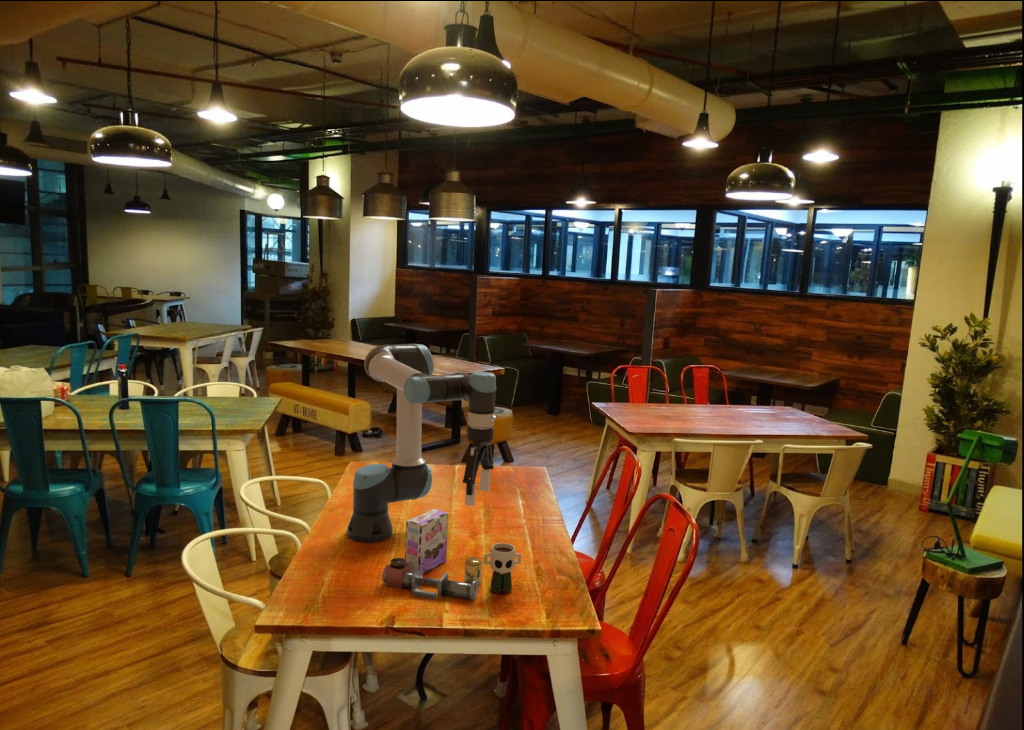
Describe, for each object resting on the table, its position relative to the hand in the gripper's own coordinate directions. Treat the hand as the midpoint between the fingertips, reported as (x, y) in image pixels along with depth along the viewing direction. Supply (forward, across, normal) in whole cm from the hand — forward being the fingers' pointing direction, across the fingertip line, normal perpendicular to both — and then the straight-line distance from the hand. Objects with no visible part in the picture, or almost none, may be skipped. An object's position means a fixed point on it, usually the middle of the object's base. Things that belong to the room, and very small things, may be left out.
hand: (477, 497), depth 203 cm
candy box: (+26, +5, +17) cm, 32 cm away
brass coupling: (+26, 0, 0) cm, 26 cm away
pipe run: (+26, -9, +10) cm, 30 cm away
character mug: (+27, -1, -9) cm, 28 cm away
